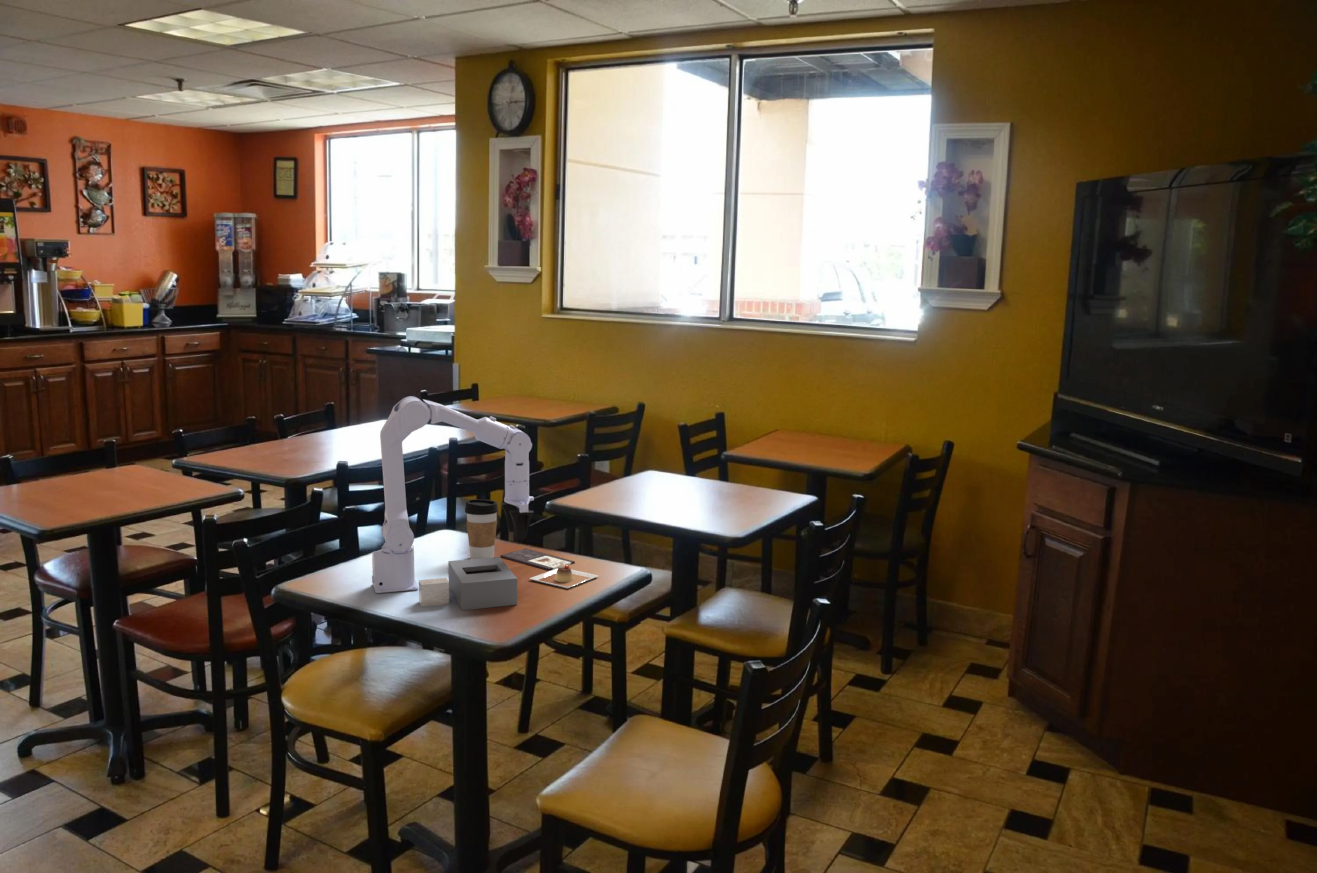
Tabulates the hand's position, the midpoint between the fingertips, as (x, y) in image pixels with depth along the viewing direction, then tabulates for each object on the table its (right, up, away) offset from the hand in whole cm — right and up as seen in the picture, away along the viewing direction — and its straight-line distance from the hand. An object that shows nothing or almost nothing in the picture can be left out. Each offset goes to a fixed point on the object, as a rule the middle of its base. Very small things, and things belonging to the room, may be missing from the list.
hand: (517, 535), depth 236 cm
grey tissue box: (-6, -12, -13) cm, 19 cm away
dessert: (+11, -11, 0) cm, 16 cm away
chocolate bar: (+3, -9, +16) cm, 18 cm away
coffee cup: (-11, -8, +16) cm, 21 cm away
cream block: (-16, -13, -19) cm, 28 cm away
